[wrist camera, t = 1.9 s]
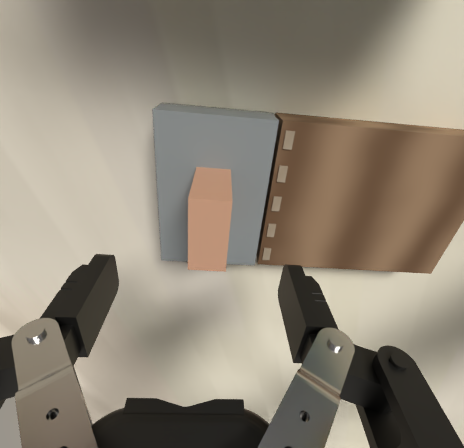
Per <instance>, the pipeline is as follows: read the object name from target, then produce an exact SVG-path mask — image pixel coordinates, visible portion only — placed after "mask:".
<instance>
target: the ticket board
mask: <svg viewBox="0 0 464 448" xmlns="http://www.w3.org/2000/svg"><path fill="white" fill-rule="evenodd" d="M275 117H276V118H277V119H278V120H279V124H278V130H277V136H276V142H275V147H274V153H273V159H272V165H271V171H270V177H269V183H268V189H267V195H266V201H265V207H264V213H263V219H262V224H261V230H260V236H259V242H258V248H257V254H256V256H257V262H258V264H265V265H283V266H284V265H285V264H288V265H301V266H302V267H320V268H338V269H356V270H375V271H393V272H411V273H429V274H431V273H432V271H433V269H434V268H435V266H436V264H437V263H438V261H439V260H440V258H441V256H442V255H443V253H444V251H445V250H446V248H447V247H448V245H449V243H450V242H451V240H452V238H453V237H454V235H455V234H456V232H457V230H458V229H459V227H460V225H461V224H462V222H463V221H464V130H460V129H449V128H438V127H427V126H416V125H405V124H394V123H383V122H372V121H361V120H350V119H339V118H328V117H317V116H306V115H295V114H284V113H276V114H275Z"/></svg>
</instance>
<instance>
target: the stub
mask: <svg viewBox="0 0 464 448" xmlns="http://www.w3.org/2000/svg"><path fill="white" fill-rule="evenodd" d="M152 110H153V127H154V143H155V160H156V177H157V194H158V210H159V227H160V244H161V260H165V261H183V262H188V270H207V271H226V264H238V265H255V260H256V254H257V248H258V242H259V236H260V230H261V224H262V219H263V213H264V207H265V201H266V195H267V189H268V183H269V177H270V171H271V165H272V159H273V153H274V147H275V142H276V136H277V130H278V124H279V120H278V119H277V118H276V117H275V116H274V114H273V113H269V112H258V111H247V110H236V109H225V108H214V107H203V106H192V105H181V104H170V103H161V104H160V105H158V106H157V107H155V108H154V109H152Z"/></svg>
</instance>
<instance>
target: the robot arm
mask: <svg viewBox="0 0 464 448" xmlns="http://www.w3.org/2000/svg"><path fill="white" fill-rule="evenodd" d="M118 286H119V279H118V272H117V266H116V260H115V256H114V255H104V254H96V255H94V257H93V258H92V260H91V261H90V263H89V265H81V266H80V267H79V268H77V269H76V270H74V271H73V272H72V273H71V275H70V276H69V277H68V279H67V280H66V283H64V285H63V286H62V287H61V290H59V292H58V293H57V295H56V296H55V297H54V299H53V300H52V302H51V303H50V305H49V306H48V307H47V309H46V310H45V312H44V313H43V315H42V316H41V317H40V319H36V320H33V321H31V322H29V323H27V324H25V325H24V326H22V327H21V328H20V329H19V330H18V331H17V332H16V333H15V335H11V336H7V337H2V338H0V408H1V407H2V405H3V403H4V401H5V400H6V399H7V398H11V397H14V396H15V402H16V409H17V416H18V424H19V431H20V438H21V445H22V448H324V447H325V444H326V441H327V438H328V435H329V432H330V429H331V426H332V423H333V421H334V418H335V415H336V412H337V409H338V406H339V403H340V399H343V400H346V401H348V402H351V403H354V404H356V407H357V410H358V413H359V416H360V419H361V422H362V425H363V428H364V431H365V434H366V437H367V440H368V443H369V445H370V448H464V446H463V444H462V442H461V440H460V439H459V437H458V435H457V433H456V432H455V430H454V428H453V427H452V425H451V423H450V421H449V420H448V418H447V416H446V415H445V413H444V411H443V409H442V408H441V406H440V404H439V402H438V401H437V399H436V397H435V396H434V394H433V392H432V390H431V389H430V387H429V385H428V383H427V382H426V380H425V378H424V377H423V375H422V373H421V371H420V370H419V368H418V366H417V365H416V363H415V361H414V360H413V359H412V358H411V357H410V356H409V355H408V354H407V353H405V352H404V351H402V350H400V349H398V348H396V347H393V346H383V347H381V348H380V349H379V350H378V352H375V351H372V350H368V349H365V348H362V347H359V346H357V345H355V344H353V342H352V341H351V339H350V338H349V337H348V336H347V335H346V334H345V333H344V332H342V331H340V330H339V329H338V327H337V325H336V323H335V320H334V318H333V316H332V313H331V311H330V309H329V306H328V304H327V302H326V300H325V297H324V295H323V293H322V290H321V288H320V286H319V284H318V283H317V282H316V281H315V280H314V279H313V278H312V276H305V274H304V271H303V269H302V266H301V265H288V264H285V265H284V268H283V271H282V276H281V280H280V284H279V288H278V300H279V304H280V308H281V313H282V317H283V321H284V325H285V330H286V334H287V338H288V342H289V346H290V351H291V355H292V359H293V363H302V366H301V368H300V369H299V370H298V371H297V373H296V375H295V377H294V379H293V380H292V382H291V384H290V386H289V388H288V390H287V392H286V394H285V396H284V398H283V400H282V402H281V404H280V405H279V407H278V409H277V411H276V413H275V415H274V417H273V419H272V421H271V423H270V424H269V423H268V422H267V421H265V420H264V419H263V418H262V417H260V416H259V415H257V414H255V413H253V412H251V411H249V410H246V409H244V401H243V400H239V399H214V400H211V401H207V402H203V403H200V404H196V405H193V406H189V407H182V406H179V405H176V404H173V403H169V402H166V401H163V400H160V399H157V398H127V400H126V404H125V407H124V408H122V409H119V410H116V411H114V412H112V413H110V414H108V415H106V416H104V417H103V418H101V419H100V420H98V421H97V422H96V423H94V424H93V423H92V420H91V417H90V414H89V411H88V409H87V406H86V402H85V399H84V396H83V393H82V390H81V387H80V384H79V381H78V378H77V375H76V372H75V369H74V364H75V362H76V360H77V358H78V357H88V356H89V354H90V352H91V349H92V347H93V345H94V343H95V341H96V338H97V336H98V334H99V332H100V329H101V327H102V325H103V323H104V320H105V318H106V316H107V314H108V312H109V309H110V307H111V305H112V303H113V300H114V298H115V296H116V294H117V291H118Z"/></svg>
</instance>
